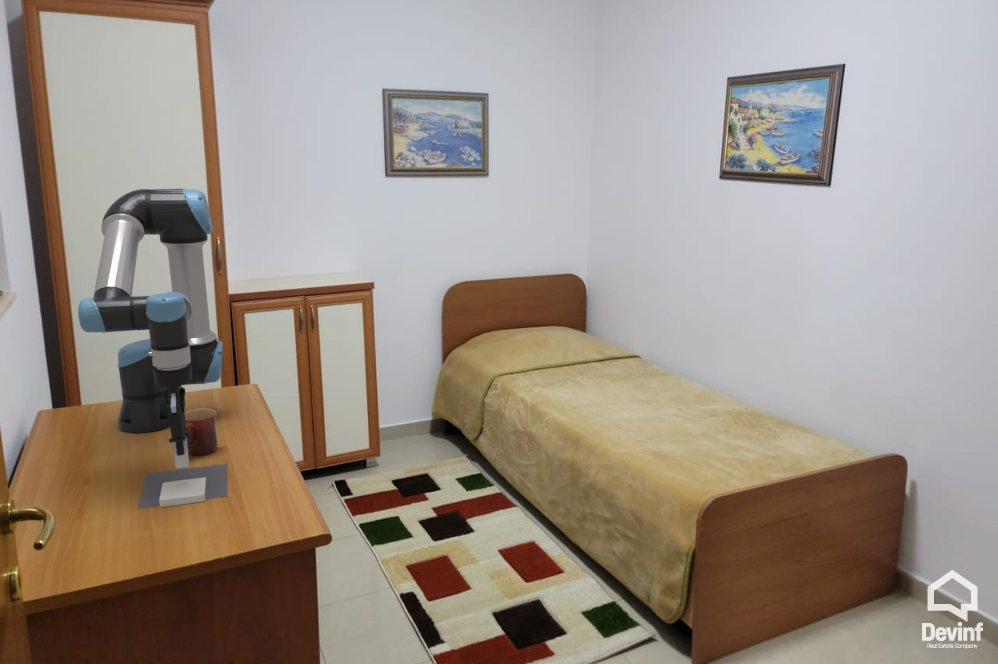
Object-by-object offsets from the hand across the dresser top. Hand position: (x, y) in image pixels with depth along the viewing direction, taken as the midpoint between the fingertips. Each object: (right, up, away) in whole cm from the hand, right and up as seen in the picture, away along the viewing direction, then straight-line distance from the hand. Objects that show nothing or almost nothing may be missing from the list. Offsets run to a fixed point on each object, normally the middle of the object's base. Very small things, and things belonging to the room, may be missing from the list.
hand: (182, 466), depth 162 cm
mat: (-1, -5, +4) cm, 7 cm away
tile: (-1, -4, +3) cm, 5 cm away
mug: (-5, -1, +21) cm, 21 cm away
